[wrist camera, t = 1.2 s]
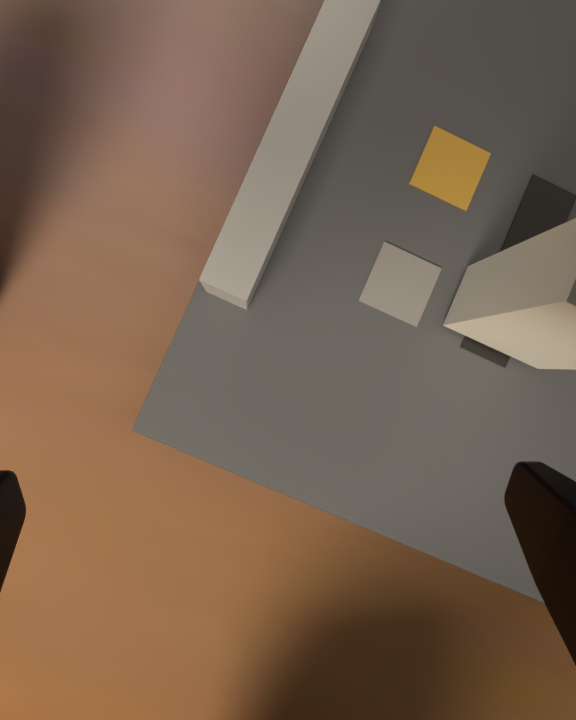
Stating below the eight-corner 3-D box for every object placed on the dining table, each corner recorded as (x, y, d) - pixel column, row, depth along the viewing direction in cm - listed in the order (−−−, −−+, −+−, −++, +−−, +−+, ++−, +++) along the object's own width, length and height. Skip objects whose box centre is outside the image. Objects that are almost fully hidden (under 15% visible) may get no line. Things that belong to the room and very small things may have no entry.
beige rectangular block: (538, 371, 22) (755, 377, 12) (439, 326, 21) (586, 297, 12) (564, 309, 22) (798, 269, 13) (466, 263, 22) (632, 186, 12)
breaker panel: (628, 631, 24) (714, 692, 20) (139, 425, 22) (111, 441, 18) (820, 145, 25) (944, 97, 21) (371, -90, 23) (399, -198, 19)
